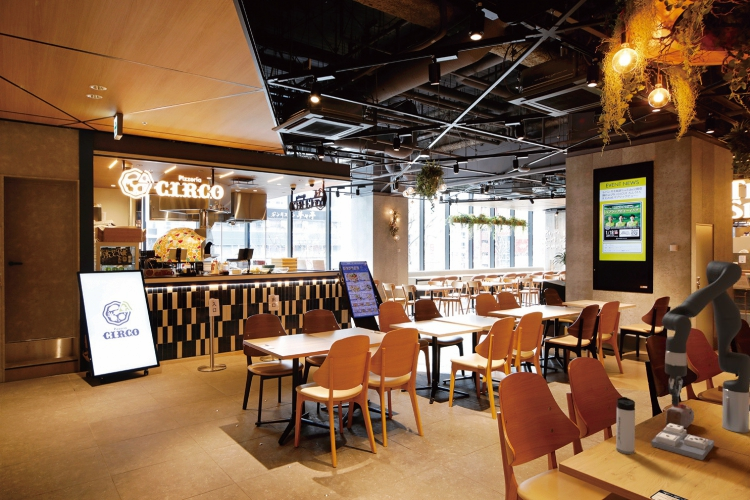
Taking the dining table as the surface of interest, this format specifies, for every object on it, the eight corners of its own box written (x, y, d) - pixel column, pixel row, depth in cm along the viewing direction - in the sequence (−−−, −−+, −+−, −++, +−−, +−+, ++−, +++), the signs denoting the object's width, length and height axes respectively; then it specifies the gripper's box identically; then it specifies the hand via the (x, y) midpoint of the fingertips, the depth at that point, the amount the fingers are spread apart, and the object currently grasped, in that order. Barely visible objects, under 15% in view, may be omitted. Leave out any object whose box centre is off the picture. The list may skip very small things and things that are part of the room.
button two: (669, 427, 196) (669, 422, 196) (683, 431, 192) (683, 426, 192) (666, 431, 193) (666, 425, 193) (680, 434, 189) (680, 429, 189)
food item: (675, 419, 215) (675, 398, 215) (695, 424, 209) (695, 402, 209) (663, 426, 207) (664, 404, 207) (684, 432, 201) (684, 409, 201)
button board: (665, 433, 199) (665, 423, 199) (713, 445, 187) (714, 435, 187) (651, 446, 186) (651, 436, 186) (702, 460, 174) (702, 449, 174)
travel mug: (632, 448, 183) (633, 397, 183) (636, 455, 177) (636, 402, 177) (614, 446, 185) (615, 395, 185) (617, 453, 179) (618, 401, 179)
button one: (662, 437, 189) (662, 432, 189) (676, 441, 186) (676, 435, 186) (658, 440, 186) (658, 435, 186) (673, 444, 182) (673, 439, 182)
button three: (690, 440, 187) (690, 435, 187) (705, 444, 183) (705, 438, 183) (686, 444, 183) (687, 438, 183) (702, 448, 179) (702, 442, 179)
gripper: (670, 358, 200) (669, 399, 200) (660, 363, 191) (660, 406, 191) (690, 361, 194) (690, 403, 194) (682, 367, 185) (681, 410, 185)
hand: (675, 404), depth 192 cm, fingers closed
